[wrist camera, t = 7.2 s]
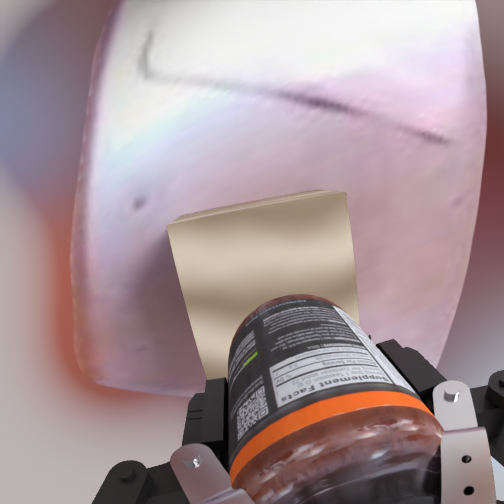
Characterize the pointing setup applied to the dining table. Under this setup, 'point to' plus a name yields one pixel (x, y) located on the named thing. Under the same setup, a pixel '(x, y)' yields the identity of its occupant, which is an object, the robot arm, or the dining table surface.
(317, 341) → the supplement bottle
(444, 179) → the dining table surface
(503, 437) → the robot arm
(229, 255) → the birch block
